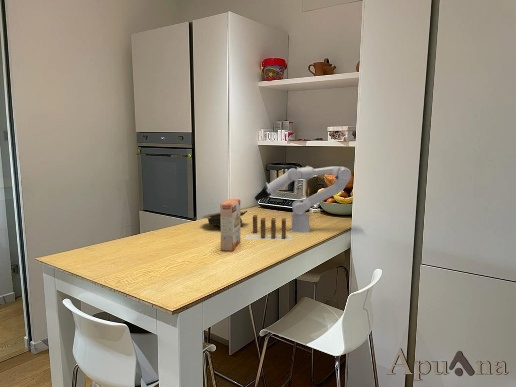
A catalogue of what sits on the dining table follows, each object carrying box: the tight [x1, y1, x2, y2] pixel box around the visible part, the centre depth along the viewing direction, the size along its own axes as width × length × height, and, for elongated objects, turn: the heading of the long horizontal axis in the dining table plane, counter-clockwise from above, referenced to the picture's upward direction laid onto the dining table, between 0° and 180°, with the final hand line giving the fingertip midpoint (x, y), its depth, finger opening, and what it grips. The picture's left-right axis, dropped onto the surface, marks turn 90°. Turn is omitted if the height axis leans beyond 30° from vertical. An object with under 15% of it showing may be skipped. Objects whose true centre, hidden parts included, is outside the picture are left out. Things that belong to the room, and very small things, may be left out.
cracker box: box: [219, 198, 241, 252], centre depth 175 cm, size 14×6×21 cm, turn 168°
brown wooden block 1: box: [252, 214, 259, 234], centre depth 200 cm, size 2×5×9 cm, turn 174°
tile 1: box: [281, 217, 287, 239], centre depth 189 cm, size 2×5×9 cm, turn 174°
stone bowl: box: [201, 210, 248, 227], centre depth 216 cm, size 25×25×9 cm
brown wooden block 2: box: [260, 217, 266, 239], centre depth 190 cm, size 2×5×9 cm, turn 174°
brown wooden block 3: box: [270, 217, 277, 239], centre depth 189 cm, size 2×5×9 cm, turn 174°
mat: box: [243, 234, 293, 241], centre depth 190 cm, size 23×9×1 cm, turn 84°
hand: (256, 198), depth 201 cm, fingers open, 7 cm apart
